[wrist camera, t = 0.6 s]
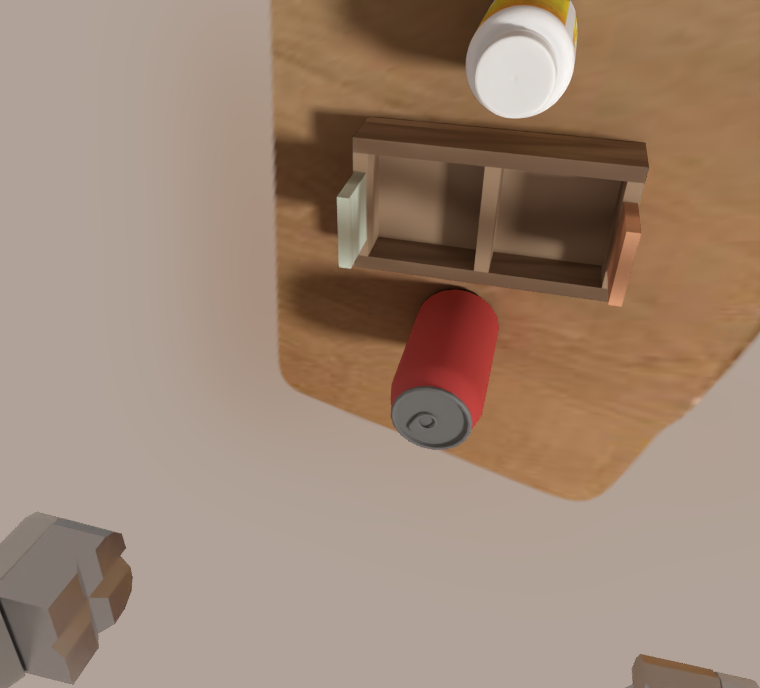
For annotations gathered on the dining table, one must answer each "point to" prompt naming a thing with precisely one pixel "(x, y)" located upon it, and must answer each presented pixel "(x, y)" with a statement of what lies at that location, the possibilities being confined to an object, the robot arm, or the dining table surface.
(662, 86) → the dining table surface
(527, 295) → the dining table surface
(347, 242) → the wooden compartment tray
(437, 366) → the beer can
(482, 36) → the supplement bottle
